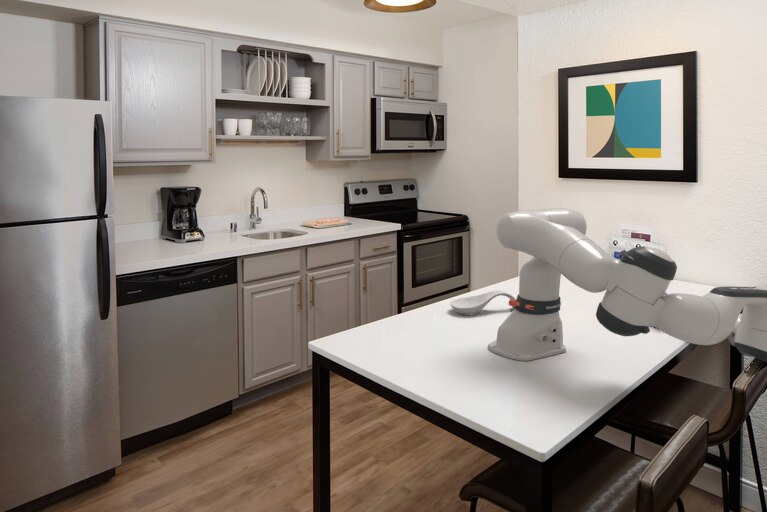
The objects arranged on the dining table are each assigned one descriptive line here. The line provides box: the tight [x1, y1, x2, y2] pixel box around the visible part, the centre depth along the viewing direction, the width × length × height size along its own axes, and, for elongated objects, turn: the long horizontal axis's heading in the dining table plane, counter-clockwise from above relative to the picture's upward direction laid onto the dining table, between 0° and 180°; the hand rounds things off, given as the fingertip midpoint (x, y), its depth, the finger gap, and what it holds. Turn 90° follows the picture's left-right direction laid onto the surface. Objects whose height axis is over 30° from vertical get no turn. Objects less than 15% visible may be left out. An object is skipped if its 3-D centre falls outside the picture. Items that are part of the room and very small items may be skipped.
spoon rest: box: [450, 289, 517, 316], centre depth 191 cm, size 24×12×7 cm, turn 98°
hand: (695, 318), depth 162 cm, fingers open, 8 cm apart
